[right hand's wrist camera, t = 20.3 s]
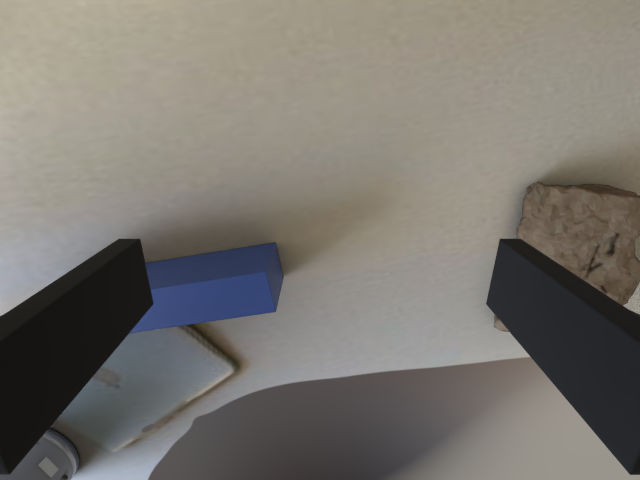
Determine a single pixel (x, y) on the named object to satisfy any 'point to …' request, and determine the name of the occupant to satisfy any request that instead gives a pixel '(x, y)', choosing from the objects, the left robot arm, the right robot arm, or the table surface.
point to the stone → (585, 234)
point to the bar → (213, 287)
